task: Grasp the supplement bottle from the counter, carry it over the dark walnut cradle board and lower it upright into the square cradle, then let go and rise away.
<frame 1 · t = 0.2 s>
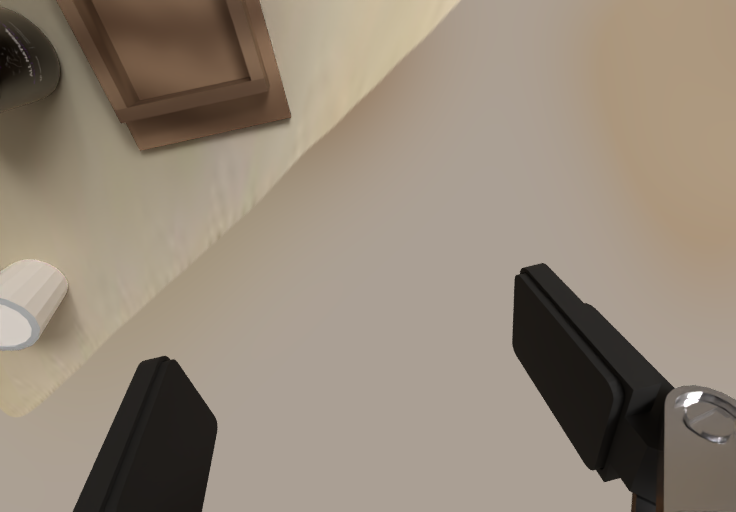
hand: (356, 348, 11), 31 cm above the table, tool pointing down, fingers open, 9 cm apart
bottle cradle: (174, 20, 31), on the table
shot glass: (39, 279, 42), on the table
supplement bottle: (14, 54, 31), on the table
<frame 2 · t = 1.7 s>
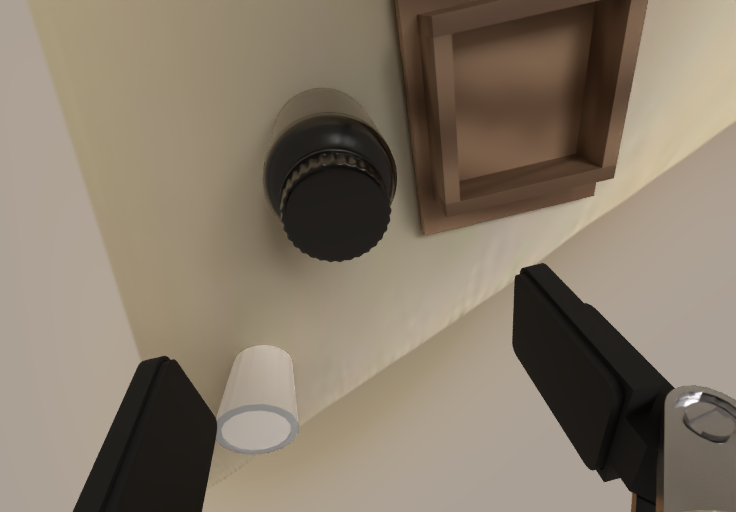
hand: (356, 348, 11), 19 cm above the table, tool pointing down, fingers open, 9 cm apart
bottle cradle: (506, 96, 27), on the table
shot glass: (263, 364, 38), on the table
supplement bottle: (323, 137, 27), on the table
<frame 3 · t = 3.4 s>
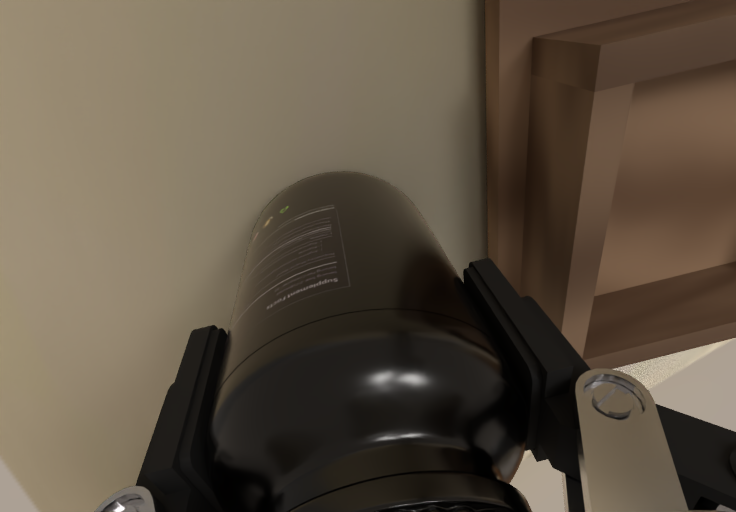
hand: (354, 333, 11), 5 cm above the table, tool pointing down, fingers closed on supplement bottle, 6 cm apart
bottle cradle: (655, 171, 15), on the table
supplement bottle: (339, 245, 15), on the table, touching gripper
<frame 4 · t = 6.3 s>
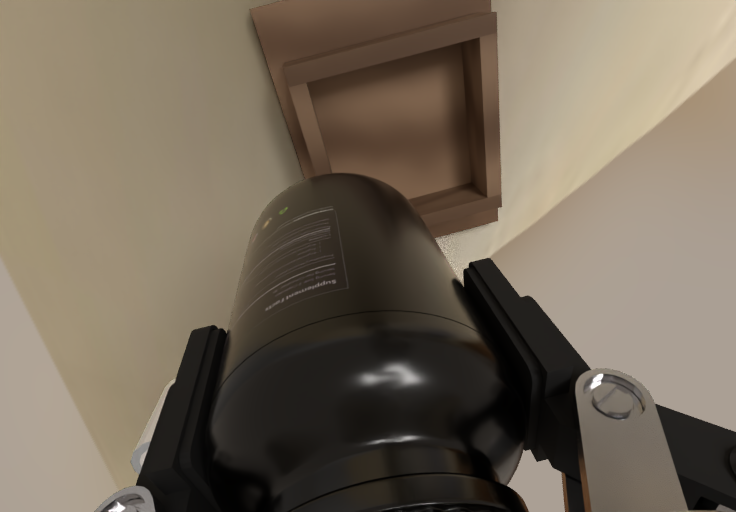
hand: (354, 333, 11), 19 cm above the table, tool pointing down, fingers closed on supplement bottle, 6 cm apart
bottle cradle: (393, 131, 27), on the table
shot glass: (195, 392, 38), on the table
supplement bottle: (338, 246, 15), point 14 cm above the table, touching gripper
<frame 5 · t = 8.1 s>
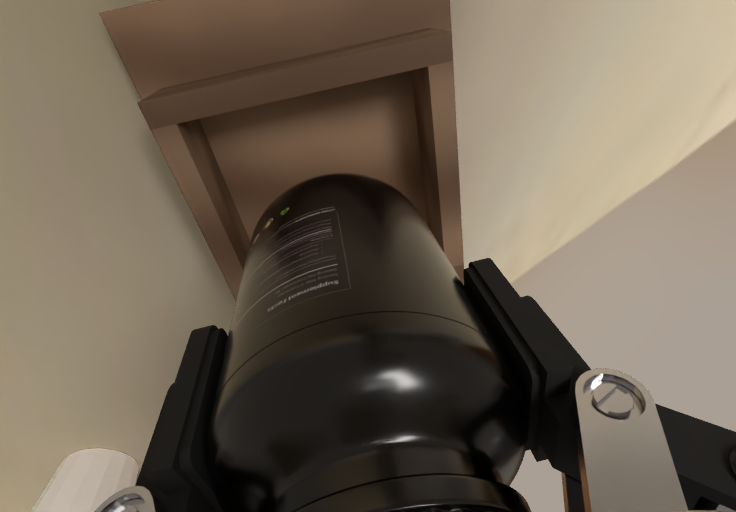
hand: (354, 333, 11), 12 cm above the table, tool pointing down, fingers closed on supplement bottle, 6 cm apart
bottle cradle: (327, 176, 21), on the table
shot glass: (102, 465, 32), on the table
supplement bottle: (339, 246, 15), point 7 cm above the table, touching gripper
when the fingers open (8 cm above the table, at t = 9.5 s): supplement bottle drops 2 cm, resting on bottle cradle.
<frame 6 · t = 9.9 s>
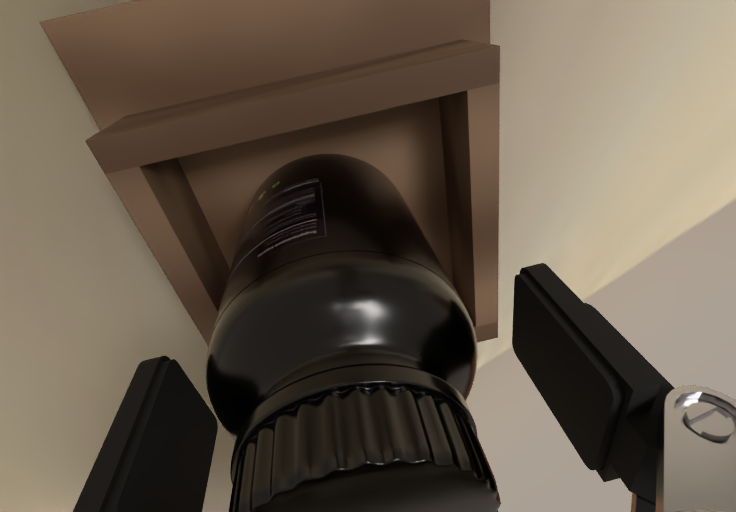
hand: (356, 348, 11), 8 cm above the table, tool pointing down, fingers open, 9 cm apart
bottle cradle: (333, 214, 18), on the table
supplement bottle: (327, 223, 17), point 1 cm above the table, touching bottle cradle
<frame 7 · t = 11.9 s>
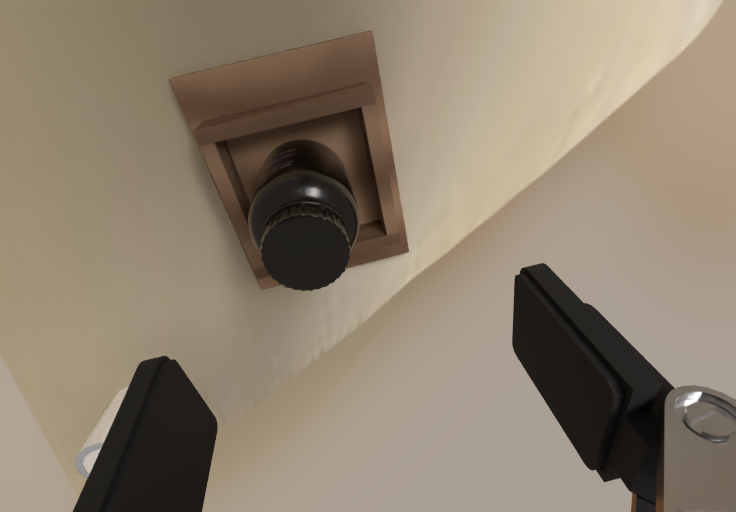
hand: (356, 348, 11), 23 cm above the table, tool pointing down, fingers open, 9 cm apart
bottle cradle: (308, 175, 31), on the table
shot glass: (143, 401, 42), on the table
supplement bottle: (304, 178, 31), point 1 cm above the table, touching bottle cradle
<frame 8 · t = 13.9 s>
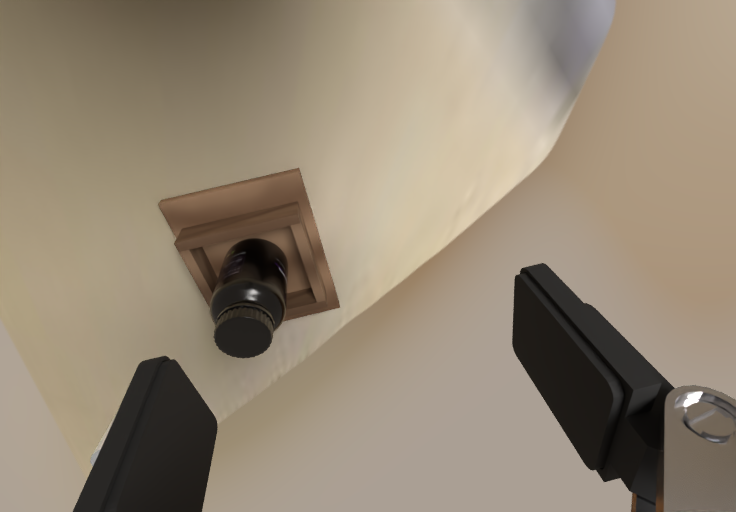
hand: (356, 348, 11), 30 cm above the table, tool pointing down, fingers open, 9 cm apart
bottle cradle: (260, 257, 43), on the table
supplement bottle: (257, 261, 43), point 1 cm above the table, touching bottle cradle
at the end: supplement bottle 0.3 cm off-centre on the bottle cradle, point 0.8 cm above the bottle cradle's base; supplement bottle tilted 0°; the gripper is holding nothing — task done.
